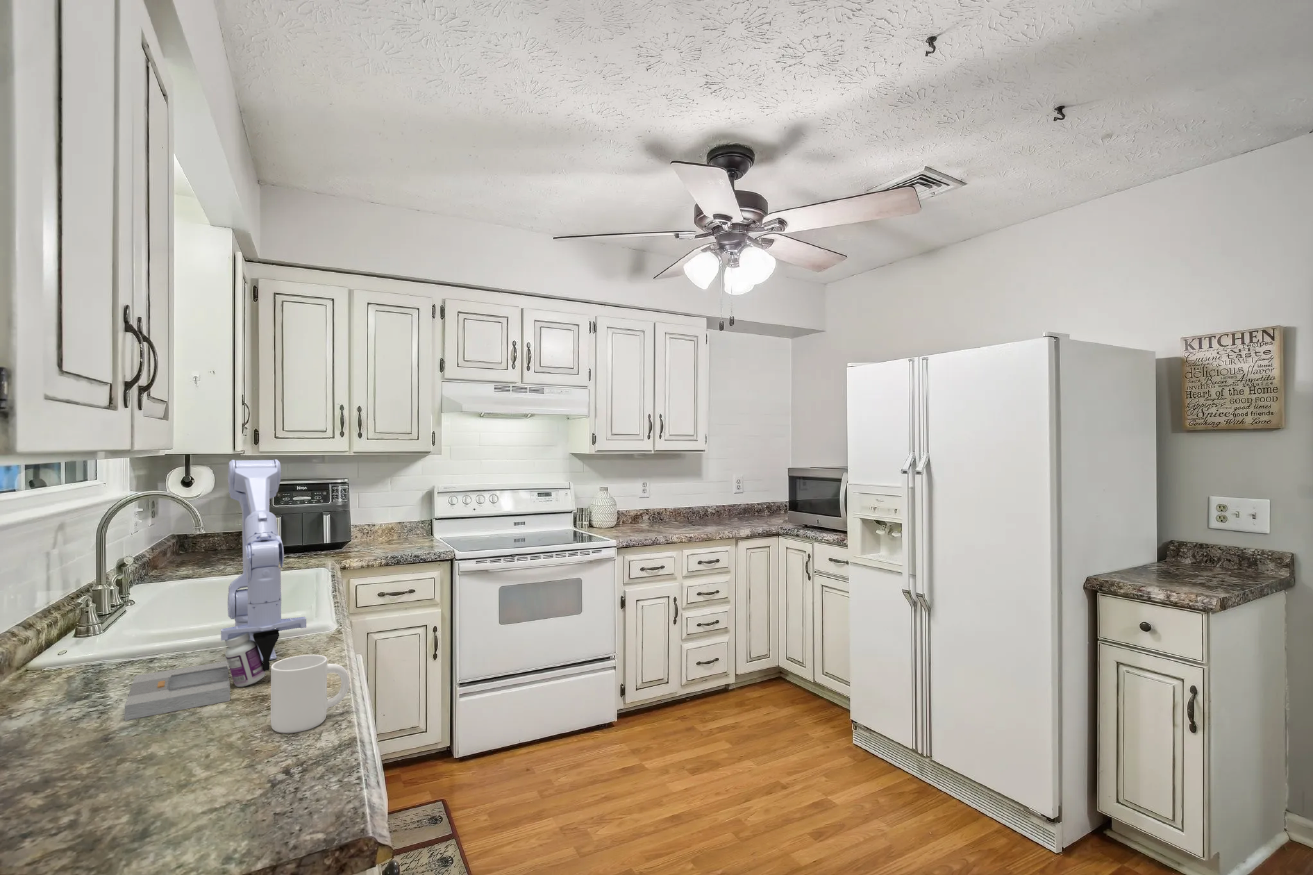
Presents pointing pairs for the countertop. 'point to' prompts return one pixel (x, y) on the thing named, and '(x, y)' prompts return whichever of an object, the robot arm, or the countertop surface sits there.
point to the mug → (303, 692)
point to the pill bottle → (244, 660)
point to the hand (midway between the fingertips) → (265, 669)
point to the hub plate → (178, 690)
